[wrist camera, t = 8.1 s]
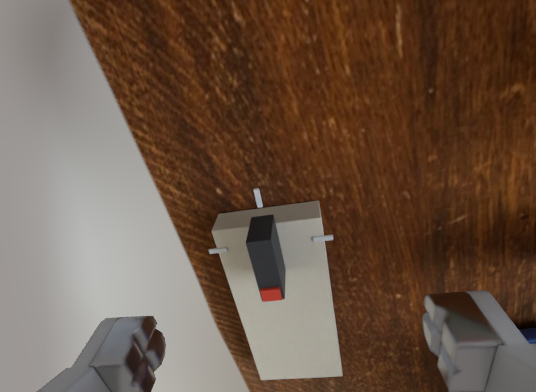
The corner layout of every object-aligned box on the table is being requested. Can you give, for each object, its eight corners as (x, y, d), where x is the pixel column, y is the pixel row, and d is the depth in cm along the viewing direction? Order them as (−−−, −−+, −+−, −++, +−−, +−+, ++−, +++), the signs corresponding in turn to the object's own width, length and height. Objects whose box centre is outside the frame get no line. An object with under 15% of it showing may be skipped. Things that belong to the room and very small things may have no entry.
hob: (200, 182, 23) (190, 198, 21) (322, 163, 22) (326, 179, 19) (257, 357, 33) (254, 382, 30) (345, 352, 31) (349, 377, 29)
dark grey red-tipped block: (251, 216, 21) (244, 245, 18) (273, 213, 21) (270, 242, 18) (265, 271, 24) (261, 304, 21) (285, 269, 23) (284, 302, 20)
